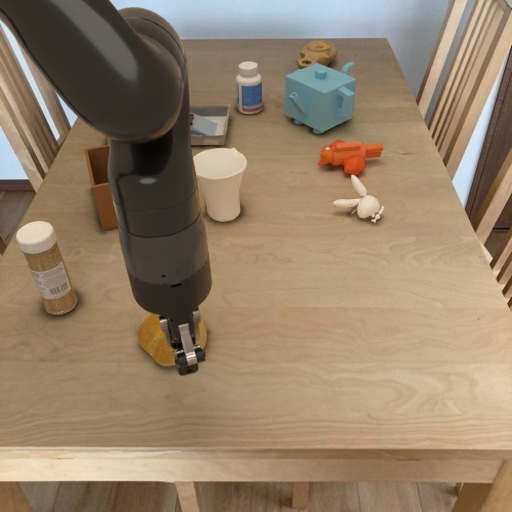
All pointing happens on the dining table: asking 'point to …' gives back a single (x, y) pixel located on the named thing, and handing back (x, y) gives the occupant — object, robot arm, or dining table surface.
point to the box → (101, 184)
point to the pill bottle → (249, 88)
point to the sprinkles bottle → (47, 266)
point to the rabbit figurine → (361, 202)
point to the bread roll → (161, 340)
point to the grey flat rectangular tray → (207, 124)
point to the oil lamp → (317, 54)
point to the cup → (221, 181)
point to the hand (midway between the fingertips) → (187, 369)
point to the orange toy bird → (349, 155)
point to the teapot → (320, 96)
